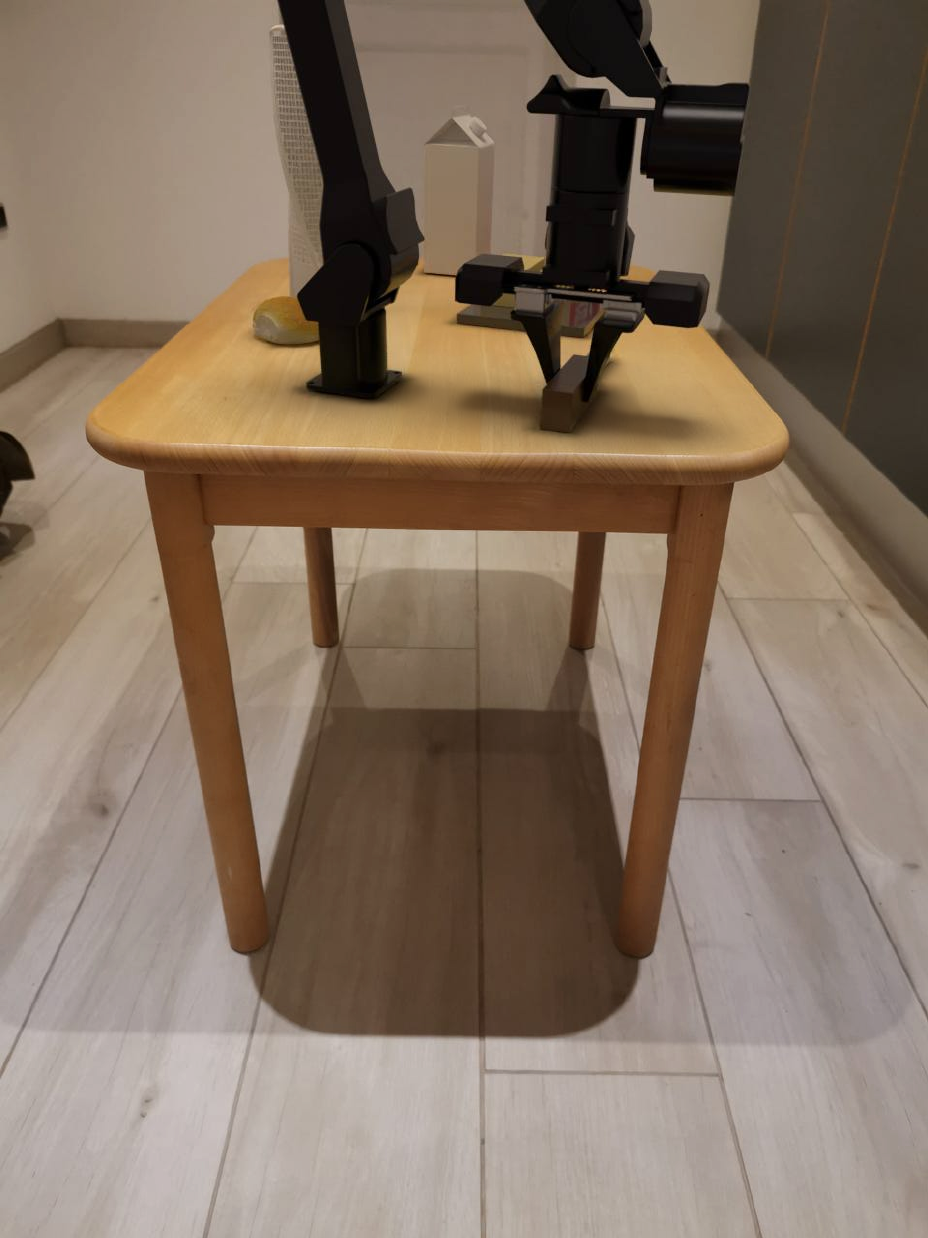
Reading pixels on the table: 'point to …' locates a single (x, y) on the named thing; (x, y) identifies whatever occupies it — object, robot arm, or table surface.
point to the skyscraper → (296, 164)
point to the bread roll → (284, 322)
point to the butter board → (573, 323)
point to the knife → (565, 396)
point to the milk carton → (457, 193)
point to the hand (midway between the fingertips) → (571, 398)
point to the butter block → (529, 264)
